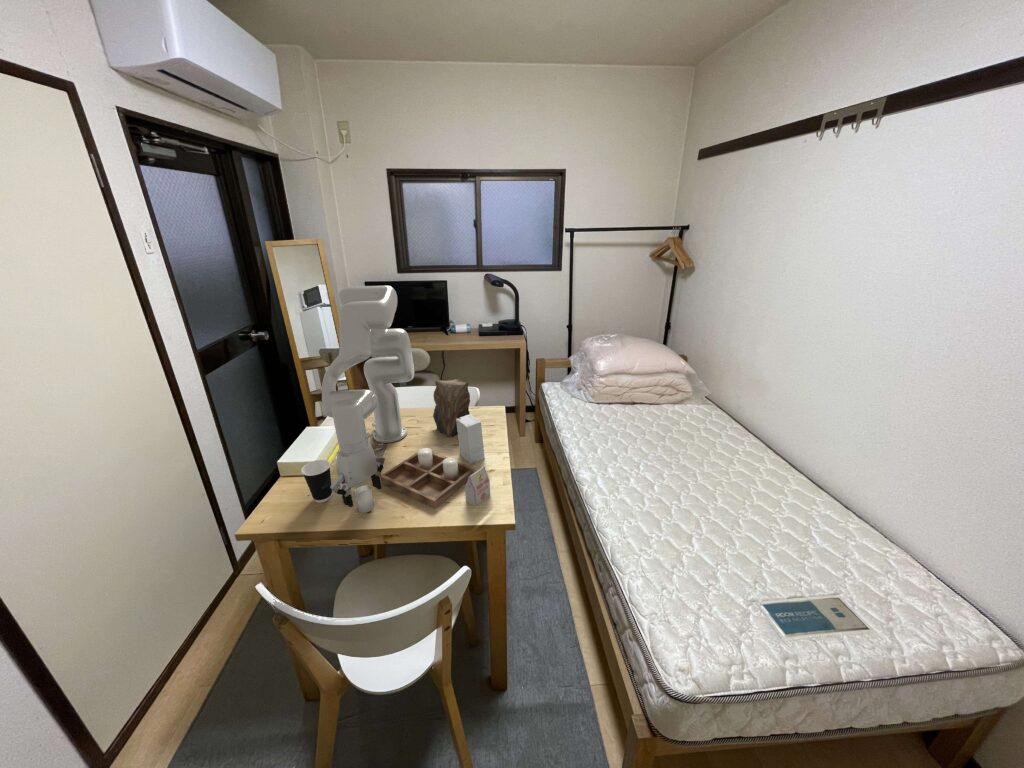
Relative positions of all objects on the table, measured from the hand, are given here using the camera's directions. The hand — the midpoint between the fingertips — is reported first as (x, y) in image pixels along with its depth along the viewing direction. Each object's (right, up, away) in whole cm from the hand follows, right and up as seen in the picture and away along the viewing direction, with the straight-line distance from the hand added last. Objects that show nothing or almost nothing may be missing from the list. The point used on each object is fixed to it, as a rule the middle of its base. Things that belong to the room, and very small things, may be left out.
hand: (363, 496), depth 117 cm
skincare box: (+29, +6, +26) cm, 39 cm away
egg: (0, -4, +2) cm, 4 cm away
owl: (+19, +14, +44) cm, 50 cm away
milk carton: (+33, -2, +4) cm, 33 cm away
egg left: (+14, +4, +19) cm, 24 cm away
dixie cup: (-15, -2, +7) cm, 16 cm away
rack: (+16, +1, +13) cm, 21 cm away
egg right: (+23, +2, +13) cm, 27 cm away
